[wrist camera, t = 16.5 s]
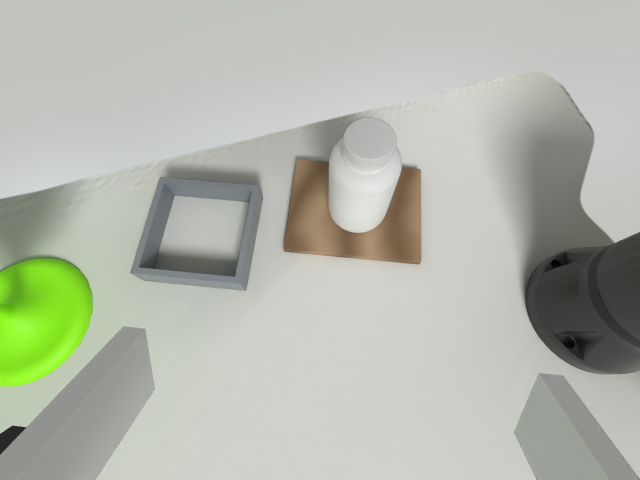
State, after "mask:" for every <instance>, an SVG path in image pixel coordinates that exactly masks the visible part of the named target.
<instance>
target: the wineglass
mask: <svg viewBox="0 0 640 480" xmlns="http://www.w3.org/2000/svg"><path fill="white" fill-rule="evenodd" d="M92 310H93V307H92V292H91V289H90V286H89V283H88V280H87V279H86V278H85V277H84V275H83V274H82V273H81V271H80V270H79V269H77V268H76V267H74V266H73V265H71V264H70V263H68V262H65V261H61V260H58V259H54V258H36V259H31V260H27V261H23V262H19V263H17V264H15V265H13V266H10V267H8V268H6V269H4V270H2V271H1V272H0V386H19V385H23V384H26V383H30V382H34V381H36V380H38V379H40V378H42V377H43V376H45V375H47V374H49V373H51V372H53V371H54V370H55V369H56V368H57V367H59V366H60V365H61V364H62V363H63V362H65V361H66V360H67V359H68V358H69V357H70V355H71V354H72V353H73V352H74V350H75V349H76V348H77V347H78V345H79V344H80V343H81V341H82V339H83V337H84V335H85V333H86V331H87V329H88V327H89V323H90V318H91V314H92Z"/></svg>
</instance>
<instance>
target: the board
mask: <svg viewBox="0 0 640 480" xmlns="http://www.w3.org/2000/svg"><path fill="white" fill-rule="evenodd" d="M328 200H329V162H324V161H311V160H299V159H297V162H296V169H295V175H294V182H293V189H292V195H291V202H290V209H289V216H288V222H287V229H286V236H285V243H284V252H293V253H304V254H314V255H325V256H336V257H346V258H357V259H368V260H378V261H389V262H400V263H410V264H420V262H421V169H409V168H401V173H400V176H399V179H398V182H397V184H396V187H395V190H394V193H393V196H392V198H391V201H390V204H389V207H388V209H387V212H386V215H385V217H384V219H383V220H382V222H381V223H380V224H379V225H378V226H377V227H375V228H374V229H372V230H370V231H367V232H363V233H354V232H349V231H346V230H344V229H342V228H341V227H339V226H338V225H337V224H336V223H335V222H334V220H333V219H332V217H331V215H330V212H329V206H328Z"/></svg>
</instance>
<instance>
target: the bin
mask: <svg viewBox="0 0 640 480" xmlns="http://www.w3.org/2000/svg"><path fill="white" fill-rule="evenodd" d="M174 195H177V196H188V197H200V198H211V199H222V200H234V201H245V202H250V203H249V208H248V213H247V218H246V223H245V228H244V233H243V239H242V244H241V249H240V254H239V259H238V264H237V269H236V274H235V277H232V276H222V275H211V274H201V273H191V272H180V271H170V270H160V269H153V268H154V265H155V261H156V258H157V254H158V251H159V247H160V244H161V240H162V237H163V233H164V230H165V226H166V223H167V220H168V216H169V213H170V209H171V206H172V202H173V199H174ZM262 201H263V196H262V193H261V190H260V187H259V186H258V185H247V184H235V183H223V182H212V181H200V180H189V179H177V178H165V177H160V179H159V182H158V185H157V189H156V192H155V195H154V198H153V201H152V205H151V208H150V211H149V214H148V217H147V221H146V224H145V227H144V230H143V233H142V237H141V240H140V243H139V246H138V249H137V253H136V256H135V259H134V262H133V265H132V269H131V272H130V273H131V274H133V275H135V276H136V277H138V278H140V279H142V280H144V281H153V282H163V283H173V284H183V285H194V286H204V287H214V288H224V289H234V290H244V291H246V289H247V283H248V278H249V272H250V267H251V261H252V256H253V250H254V245H255V239H256V234H257V228H258V223H259V217H260V212H261V206H262Z"/></svg>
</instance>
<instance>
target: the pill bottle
mask: <svg viewBox="0 0 640 480" xmlns="http://www.w3.org/2000/svg"><path fill="white" fill-rule="evenodd" d="M396 144H397V138H396V134H395V132H394V130H393V129H392V127H391V126H390V125H389V124H387V123H386V122H384V121H382V120H380V119H377V118H361V119H358V120H356V121H354V122H352V123H351V124H350V125H349V126H348V127H347V129H346V130H345V132H344V135H343V138H342V139H340V140H339V141H338V142H337V144H336V145H335V146H334V148H333V150H332V152H331V154H330V159H329V200H328V206H329V212H330V215H331V217H332V219H333V220H334V222H335V223H336V224H337V225H338V226H339V227H341V228H342V229H344V230H346V231H349V232H354V233H363V232H367V231H370V230H372V229H374V228H375V227H377V226H378V225H379V224H380V223H381V222H382V220H383V219H384V217H385V215H386V212H387V209H388V207H389V204H390V201H391V198H392V196H393V193H394V190H395V187H396V184H397V182H398V179H399V176H400V173H401V168H402V161H401V156H400V153H399V150H398V148H397V147H396Z"/></svg>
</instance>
